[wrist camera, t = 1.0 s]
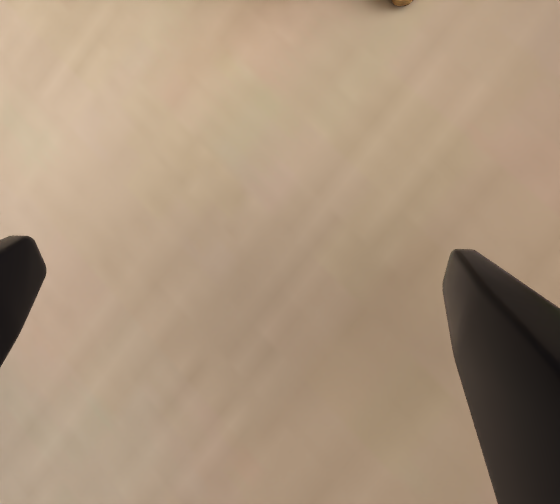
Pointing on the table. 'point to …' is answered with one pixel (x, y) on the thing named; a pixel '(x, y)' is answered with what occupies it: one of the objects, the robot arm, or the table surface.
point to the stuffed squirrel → (401, 2)
